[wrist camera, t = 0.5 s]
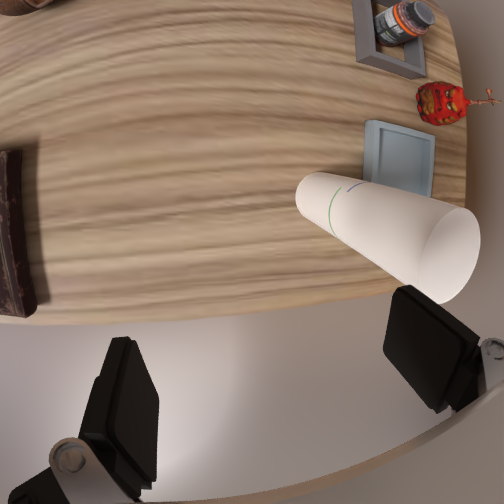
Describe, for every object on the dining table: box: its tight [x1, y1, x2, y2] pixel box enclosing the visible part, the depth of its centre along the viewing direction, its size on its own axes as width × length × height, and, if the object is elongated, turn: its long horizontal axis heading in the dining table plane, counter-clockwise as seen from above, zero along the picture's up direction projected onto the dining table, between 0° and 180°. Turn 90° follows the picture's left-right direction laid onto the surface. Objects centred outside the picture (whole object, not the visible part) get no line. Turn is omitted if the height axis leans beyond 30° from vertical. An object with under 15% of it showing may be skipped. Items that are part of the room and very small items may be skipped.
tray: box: [362, 120, 435, 198], centre depth 39 cm, size 16×13×2 cm
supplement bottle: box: [373, 1, 435, 47], centre depth 27 cm, size 6×6×11 cm
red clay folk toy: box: [416, 81, 501, 126], centre depth 30 cm, size 8×7×15 cm
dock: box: [352, 0, 426, 79], centre depth 30 cm, size 15×11×4 cm
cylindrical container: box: [296, 172, 480, 304], centre depth 28 cm, size 7×7×25 cm
